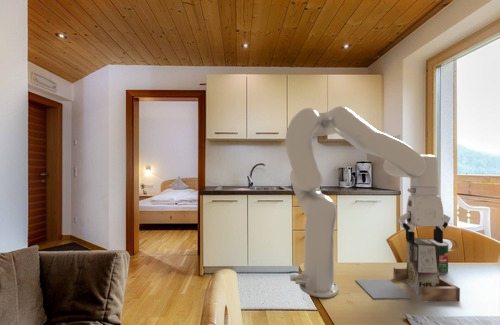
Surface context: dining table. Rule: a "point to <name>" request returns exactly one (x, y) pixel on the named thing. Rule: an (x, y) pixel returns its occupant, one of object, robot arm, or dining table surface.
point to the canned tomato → (442, 256)
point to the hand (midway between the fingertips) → (424, 242)
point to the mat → (382, 289)
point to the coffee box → (422, 264)
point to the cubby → (432, 288)
